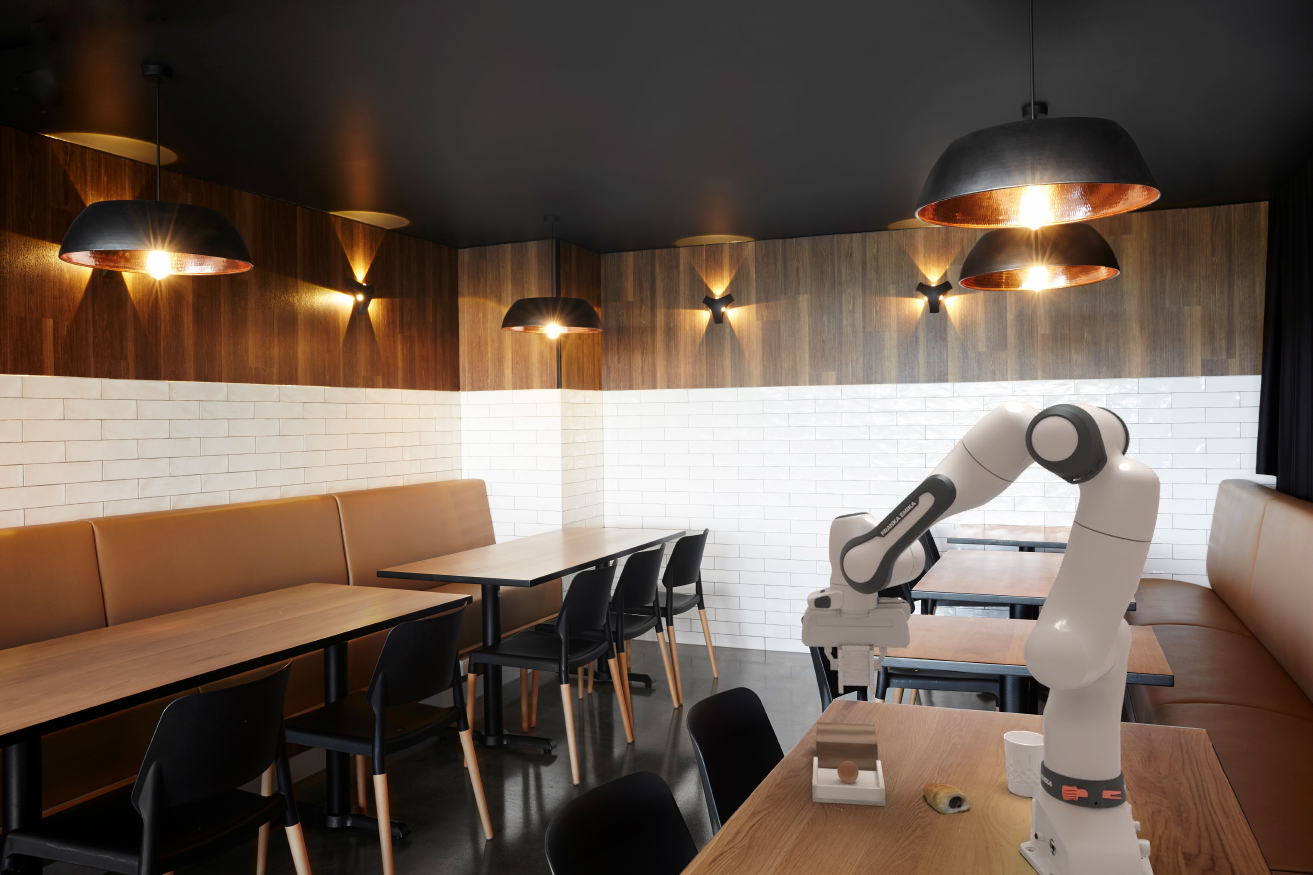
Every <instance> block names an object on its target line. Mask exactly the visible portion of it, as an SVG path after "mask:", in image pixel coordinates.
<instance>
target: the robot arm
mask: <svg viewBox="0 0 1313 875" xmlns="http://www.w3.org/2000/svg"><path fill="white" fill-rule="evenodd" d="M1130 438H1131V436H1130V432H1129V428H1128V426H1127V424H1126V423H1125V421H1124V420H1123V419H1122V417H1120V416H1119V415H1118V414H1117V413H1115V412H1114V411H1112V410H1111V409H1108V408H1106V407H1101V406H1094V405H1092V404H1089V403H1081V402H1078V403H1076V402H1075V403H1074V402H1073V403H1058V404H1054V405H1051V406H1049V407H1047V408H1044V409H1043V410H1041V411H1039V410H1037V408H1036V407H1033V406H1032V405H1030V404H1028V403H1026V402H1023V401H1021V400H1020V401H1018V400H1008V401H1004V402H1003V403H1001V404H999V405H997V406H996V407H995V408H994V409H992V410H991V411H989V413H987V414H985V415H984V416H983V417H982V418H981V419H980V420H979V421H978V422H976V424H974V425H973V427H971V428H970V429H969V430H968V431H967V433H965V434H964V435H963V436H962V438H960V440H959V441H958V442H957V443H956V444H954V446H953V448H952V449H951V450H950V451H949V452H948V454H946V455H945V457H944V458H943V459H942V460H941V461H940V463H938V464H937V466H936V467H935V468H934V469H933V470H932V471H931V472H930V473H929V474H928V475H926V476H927V477H925V478H924V479H923V481H922V482H920V484H919V485H918V486H917V487H916V488H915V489H913V490H912V491H911V492H910V493H909V494H908V495H907V496H906V497H905V498H904V499H903V500H902V501H901V502H900V503H899V504H898V505H897V506H896V507H894V509H892V511H891V512H889V513H888V514H887V515H886V516H885V517H884V518H883V519H882V520H881V521H880V520H878V519H877V518H876V517H875V516H874V515H873V514H872V513H870V512H865V511H861V512H855V513H849V514H842V515H838V516H837V517H835V518H834V519H833V520H832V522H831V524H830V528H829V530H830V531H829V536H828V539H829V540H828V543H829V544H828V559H829V563H830V569H831V573H830V574H831V575H830V577H829V587H826V588H822V589H819V590H815V591H813V592H810V593H809V594H808V596H807V598H806V603H807V606H808V607H807V608H806V609H805V610H804V614H803V618H802V619H803V620H802V626H801V642H802V644H803V645H804V646H806V647H818V648H819V647H821V648H822V647H823V649H824V651H823V653H824V654H825V655H826V658H827V659H828V660H829V661H830V671H838V658H834V657H833V655H832V652H833V651H832V650H833V648H834V647H835V648H838V644H870V645H874V648H878V650H879V656H878V658H877V659H874V672H882V670H883V667H882V666H883V665H882V663H883V661H884V659H885V658H886V656H887V654H888V649H889V648H890V649H891V648H893V649H895V648H897V649H898V648H899V649H905V648H908V646H909V645H910V644H911V638H910V636H911V635H910V628H909V623H908V621H909V620H910V619H911V615H912V613H911V610H912V609H911V606H910V603H909V602H908V601H907V600H905V599H903V598H902V597H881V596H878V592H881V591H882V590H883V591H884V590H885V589H887V588H891V587H894V586H899V585H902V584H905V583H908V582H911V581H913V580H915V579H917V578H918V577H919V576H921V574H922V573H923V571H924V570H925V567H926V562H927V560H926V558H927V557H926V556H927V555H926V552H925V551H926V550H925V548H924V546H923V544H922V542H921V541H920V540H919V539H920V538H921V537H922V536H924V534H925V533H926V532H927V531H928V530H930V529H931V528H932V527H933V526H935V525H936V524H938V523H939V522H941V521H943V520H945V519H947V518H950V517H952V516H954V515H958V514H960V513H963V512H966V511H969V510H973V509H976V508H979V507H982V506H984V505H986V504H988V503H990V502H991V501H993V500H994V499H995V498H997V497H998V496H1000V494H1002V493H1003V492H1005V491H1006V490H1007V489H1008V488H1009V487H1010V486H1011V485H1012V484H1013V483H1014V482H1015V481H1016V480H1017V479H1018V478H1019V477H1020V476H1021V475H1022V474H1023V473H1024V472H1025V471H1026V470H1027V469H1028V468H1029V467H1030V466H1031V465H1033V464H1034V463H1037V464H1038V465H1039V466H1040V467H1042V468H1043V469H1045V470H1047V471H1048V472H1050V473H1052V474H1054V475H1056V476H1057V477H1059V478H1060V479H1062V480H1063V481H1065V482H1067V483H1068V484H1070V485H1077V486H1078V488H1079V499H1078V505H1077V508H1076V511H1075V515H1074V518H1073V522H1072V525H1071V529H1070V532H1069V536H1068V540H1067V544H1066V546H1065V547H1066V548H1065V550H1064V554H1063V558H1062V561H1061V563H1060V564H1061V565H1060V567H1059V570H1058V572H1057V575H1056V577H1055V579H1054V582H1053V583H1052V586H1051V588H1050V590H1049V592H1048V594H1047V597H1046V598H1045V601H1044V603H1043V605H1042V608H1041V609H1040V610H1041V611H1040V613H1039V614H1038V617H1037V620H1036V622H1035V625H1034V627H1033V628H1032V630H1031V633H1030V634H1029V635H1028V637H1027V639H1026V640H1025V644H1024V648H1023V660H1024V663H1025V665H1026V668H1027V670H1028V672H1029V673H1030V674H1031V675H1032V677H1033V678H1034V679H1035V680H1036V681H1037V682H1038V683H1040V684H1042V685H1043V686H1046V687H1047V688H1049V693H1048V697H1047V701H1046V704H1045V706H1044V709H1043V714H1042V732H1043V733H1042V735H1043V748H1044V760H1043V761H1042V762H1041V769H1040V776H1041V785H1042V789H1041V791H1040V792H1039V793H1038V795H1037V796H1035V797H1034V798H1032V799H1031V806H1030V829H1029V830H1030V832H1029V835H1030V836H1029V840H1027V841H1024V842H1021V843H1020V845H1019V852H1020V854H1022V856H1023V857H1024V858H1025V859H1026V860H1027V861H1028V862H1029V863H1028V864H1030V865H1031V866H1032V868H1033V869H1034V870H1035V871H1036V872H1037V873H1038V874H1039V875H1155V874H1154V871H1153V868H1152V866H1151V862H1150V858H1149V857H1151V842H1150V840H1148V839H1145V838H1138V836H1137V832H1140V831H1141V822H1140V820H1139V821H1138V820H1134V818H1133V815H1132V804H1130V803H1129V801H1127V798H1128V797H1127V791H1126V789H1127V785H1126V780H1125V777H1124V776H1125V775H1124V772H1123V770H1122V767H1121V762H1122V760H1121V755H1122V754H1121V721H1122V711H1123V704H1124V697H1125V691H1126V684H1127V683H1126V682H1127V674H1128V673H1127V672H1128V664H1129V656H1130V650H1131V647H1132V643H1133V642H1132V641H1133V634H1132V629H1131V626H1130V625H1129V623H1128V621H1127V620H1126V619H1125V618H1124V616H1125V614H1126V612H1127V610H1128V608H1129V606H1130V604H1131V601H1132V600H1133V598H1134V596H1135V594H1136V593H1137V591H1138V589H1139V585H1140V581H1141V578H1142V575H1143V572H1144V568H1145V565H1146V562H1147V558H1148V555H1149V551H1150V547H1151V544H1152V540H1153V538H1154V537H1153V536H1154V534H1155V529H1156V524H1157V519H1158V513H1159V507H1160V506H1159V505H1160V498H1161V482H1160V478H1159V476H1158V474H1157V473H1156V472H1155V471H1154V470H1153V469H1152V468H1151V467H1149V466H1148V465H1146V464H1144V463H1142V462H1140V461H1137V460H1134V459H1130V458H1129V457H1126V456H1125V455H1126V454H1127V452H1128V450H1129V446H1130V443H1131V442H1130V441H1131V439H1130Z"/></svg>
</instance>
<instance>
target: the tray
mask: <svg viewBox="0 0 1313 875" xmlns="http://www.w3.org/2000/svg"><path fill="white" fill-rule="evenodd" d="M812 764H813V766H812V781H811V782H812V785H811V788H812V790H811V791H812V792H811V793H812V795H811V796H812V802H813V803H825V804H826V803H829V804H844V805H862V806H879V807H886V788H885V782H884V781H885V780H884V775H883V769H882V768H883V767H882V762H881V759H879V760H876V768H877V771H863V770H858V771H859V774H858V778H857V779H856V780H855V781H854V782H852V783H846V782H843V781H842V780H841V779H840V778H839V776H838V773H837V769H825V768H818V757H816V756H813V763H812Z"/></svg>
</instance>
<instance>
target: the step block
mask: <svg viewBox="0 0 1313 875" xmlns="http://www.w3.org/2000/svg"><path fill="white" fill-rule="evenodd" d="M815 736H816V738H815V753H816V756H815V757H818V768H825V769H838V766H839V764H840V763H842V762H843V761H851V762H853V763H854V764H855V765H856V766H857V768H858V770H863V771H877V768H876V760H878V759H879V752H878V748H879V747H878V746H879V745H878V739H877V738H878V737H877V732H876V725H875V724H868V723H864V724H863V723H846V722H845V723H843V722H842V723H841V722H823V721H821V722H819V721H818V722H817V721H816V735H815Z"/></svg>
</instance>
